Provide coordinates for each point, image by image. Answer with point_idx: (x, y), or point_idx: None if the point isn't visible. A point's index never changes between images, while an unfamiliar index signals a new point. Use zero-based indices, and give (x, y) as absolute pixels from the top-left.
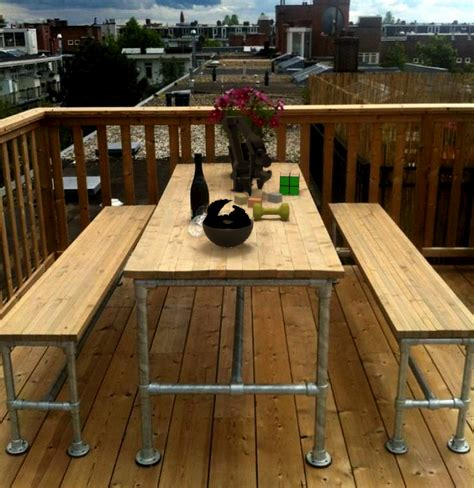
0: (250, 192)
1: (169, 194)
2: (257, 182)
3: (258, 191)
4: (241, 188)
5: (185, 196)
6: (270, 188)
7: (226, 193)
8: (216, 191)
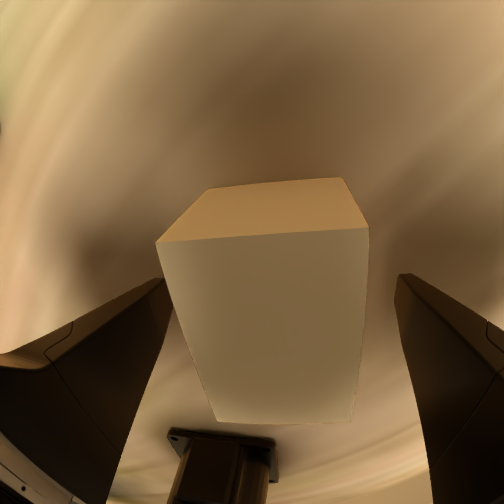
0: (456, 301)
1: None
2: (108, 455)
3: (310, 221)
4: (243, 466)
5: None
6: (5, 333)
7: (363, 462)
8: (355, 491)
